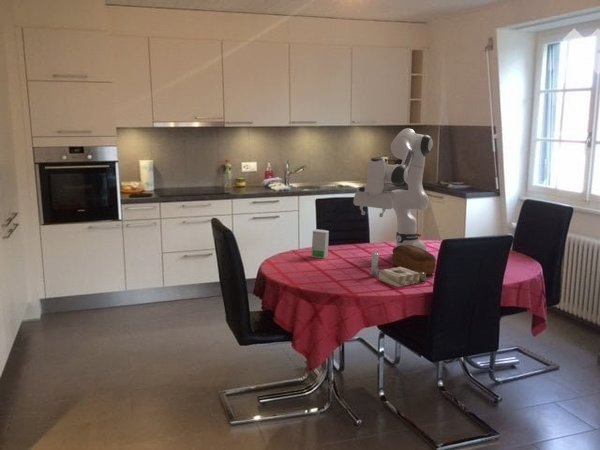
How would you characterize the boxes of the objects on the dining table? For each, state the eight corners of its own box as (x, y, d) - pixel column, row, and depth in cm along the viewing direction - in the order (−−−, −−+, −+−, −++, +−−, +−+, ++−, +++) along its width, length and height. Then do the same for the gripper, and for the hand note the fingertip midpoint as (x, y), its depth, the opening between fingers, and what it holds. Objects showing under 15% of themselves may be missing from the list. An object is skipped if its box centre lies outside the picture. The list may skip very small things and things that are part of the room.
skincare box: (311, 257, 336) (311, 230, 333) (315, 254, 342) (315, 228, 339) (324, 258, 333) (325, 232, 330) (328, 256, 339) (329, 230, 336)
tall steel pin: (374, 274, 301) (375, 252, 299) (379, 276, 298) (380, 253, 296) (369, 275, 299) (370, 253, 297) (374, 277, 296) (375, 254, 294)
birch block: (399, 276, 299) (400, 266, 298) (418, 282, 287) (419, 273, 286) (378, 280, 291) (379, 270, 290) (397, 287, 280) (398, 277, 279)
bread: (410, 262, 327) (411, 241, 325) (438, 275, 301) (440, 252, 299) (388, 264, 322) (389, 243, 320) (415, 278, 296) (417, 254, 294)
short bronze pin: (421, 280, 292) (422, 271, 291) (427, 281, 289) (427, 273, 288) (416, 281, 290) (417, 272, 289) (421, 283, 287) (422, 274, 286)
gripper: (395, 190, 295) (393, 217, 297) (356, 186, 301) (354, 212, 303) (393, 191, 289) (390, 219, 291) (353, 187, 295) (351, 214, 298)
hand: (371, 215), depth 297 cm, fingers open, 8 cm apart
